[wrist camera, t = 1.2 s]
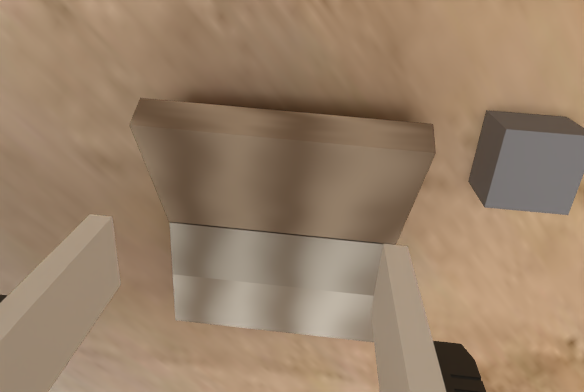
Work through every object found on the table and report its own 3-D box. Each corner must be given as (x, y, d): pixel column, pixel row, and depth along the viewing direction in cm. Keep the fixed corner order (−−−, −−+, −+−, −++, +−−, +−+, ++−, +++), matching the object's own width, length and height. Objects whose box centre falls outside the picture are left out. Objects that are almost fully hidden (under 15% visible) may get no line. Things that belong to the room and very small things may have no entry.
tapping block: (467, 180, 32) (484, 207, 28) (485, 109, 30) (506, 129, 26) (541, 187, 31) (568, 215, 28) (565, 116, 29) (597, 136, 26)
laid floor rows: (182, 304, 39) (175, 320, 37) (178, 209, 35) (169, 222, 33) (374, 324, 38) (376, 342, 36) (391, 231, 34) (395, 245, 32)
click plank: (175, 197, 34) (168, 221, 33) (140, 98, 25) (129, 124, 24) (395, 219, 33) (395, 244, 32) (433, 124, 25) (435, 153, 23)
